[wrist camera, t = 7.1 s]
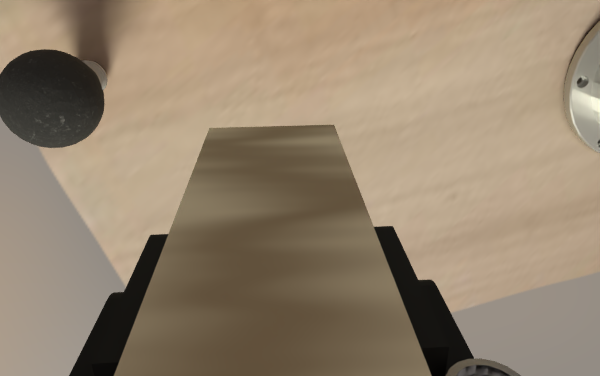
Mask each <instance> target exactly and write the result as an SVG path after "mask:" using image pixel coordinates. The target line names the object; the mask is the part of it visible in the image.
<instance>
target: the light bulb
mask: <svg viewBox="0 0 600 376" xmlns="http://www.w3.org/2000/svg"><path fill="white" fill-rule="evenodd" d="M106 85H107V75H106V72H105V70H104V69H103V68H102V67H101V66H100V65H99V64H98V63H96V62H93V61H90V60H89V61H88V60H82V61H81V60H79V59H78V58H76V57H74V56H72V55H70V54H67V53H65V52H61V51H57V50H35V51H30V52H27V53H24V54H21V55H20V56H18V57H17V58H15V59H14V60H12V61H11V62H10V63H9V64H8V65H7V66H6V67H5V68H4V70H3V71H2V73H1V74H0V116H1V118H2V120H3V122H4V123H5V124H6V125H7V127H8V128H9V129H10V130H11V131H12V132H13V133H14V134H16V135H17V136H18V137H20V138H21V139H23V140H25V141H27V142H29V143H31V144H34V145H37V146H40V147H48V148H58V147H66V146H70V145H73V144H76V143H78V142H80V141H82V140H83V139H85V138H87V137H88V136H89V135H90V134H91V133H92V132H93V131H94V130H95V128H96V127H97V126H98V124H99V122H100V120H101V118H102V115H103V111H104V93H103V90H104V89H105V87H106Z"/></svg>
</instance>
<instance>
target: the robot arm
mask: <svg viewBox="0 0 600 376" xmlns="http://www.w3.org/2000/svg"><path fill="white" fill-rule="evenodd" d="M563 100H564V107H565V114H566V117H567V120H568V122H569V125H570V127H571V129H572V130H573V132H574V133H575V135H576V136H577V137H578V138H579V139H580V140H581V141H582V142H583V143H584V144H585V145H586V146H588V147H590V148H591V149H593V150H595V151H597V152H598V153H600V21H599V22H598V23H597V24H596V25H595V26H594V27H593V28H592V30H591V31H590V32H589V33H588V34H587V35H586V37H585V38H584V40H583V41H582V43H581V44H580V46H579V48H578V49H577V51H576V53H575V55H574V57H573V59H572V62H571V64H570V66H569V69H568V73H567V76H566V80H565V85H564V98H563ZM374 229H375V232H376V234H377V237H378V239H379V242H380V245H381V247H382V250H383V252H384V255H385V257H386V260H387V262H388V265H389V268H390V270H391V273H392V275H393V278H394V280H395V283H396V286H397V288H398V291H399V293H400V296H401V298H402V301H403V304H404V306H405V309H406V311H407V314H408V316H409V319H410V322H411V324H412V327H413V329H414V332H415V334H416V337H417V340H418V342H419V345H420V347H421V350H422V352H423V355H424V357H425V360H426V363H427V365H428V368H429V370H430V373H431V375H432V376H520V375H519V374H518V373H516V372H515V371H513V370H512V369H510V368H509V367H507V366H505V365H502V364H500V363H497V362H495V361H490V360H486V359H474V357H473V355H472V353H471V352H470V350H469V348H468V346H467V344H466V342H465V340H464V338H463V336H462V334H461V332H460V330H459V328H458V327H457V325H456V323H455V321H454V319H453V317H452V315H451V313H450V311H449V309H448V307H447V305H446V303H445V301H444V299H443V297H442V296H441V294H440V292H439V290H438V288H437V286H436V284H435V283H434V281H432V280H418V279H417V277H416V275H415V272H414V270H413V268H412V266H411V264H410V262H409V260H408V257H407V255H406V253H405V251H404V249H403V247H402V245H401V243H400V240H399V238H398V236H397V234H396V232H395V230H394V228H393V226H384V227H374ZM167 237H168V234H161V235H150V237H149V239H148V241H147V243H146V245H145V248H144V250H143V252H142V254H141V256H140V258H139V261H138V263H137V265H136V267H135V269H134V272H133V274H132V276H131V278H130V280H129V282H128V285H127V287H126V289H125V291H124V292H118V293H112V294H111V295H110V296H109V298H108V299H107V301H106V303H105V305H104V308H103V309H102V311H101V313H100V315H99V318H98V319H97V321H96V323H95V325H94V327H93V329H92V331H91V333H90V335H89V337H88V339H87V341H86V343H85V345H84V347H83V349H82V351H81V353H80V355H79V357H78V359H77V361H76V363H75V365H74V367H73V369H72V371H71V373H70V375H69V376H114V374H115V371H116V369H117V366H118V364H119V361H120V358H121V356H122V353H123V351H124V348H125V346H126V343H127V340H128V338H129V335H130V333H131V330H132V327H133V325H134V322H135V320H136V317H137V314H138V312H139V309H140V307H141V304H142V302H143V299H144V296H145V294H146V291H147V289H148V286H149V283H150V281H151V278H152V276H153V273H154V271H155V268H156V265H157V263H158V260H159V258H160V255H161V252H162V250H163V247H164V245H165V242H166V240H167Z"/></svg>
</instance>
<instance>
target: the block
mask: <svg viewBox="0 0 600 376" xmlns="http://www.w3.org/2000/svg"><path fill="white" fill-rule="evenodd" d="M114 376H432V375H431V373H430V370H429V368H428V365H427V363H426V360H425V357H424V355H423V352H422V350H421V347H420V345H419V342H418V340H417V337H416V334H415V332H414V329H413V327H412V324H411V322H410V319H409V316H408V314H407V311H406V309H405V306H404V304H403V301H402V298H401V296H400V293H399V291H398V288H397V286H396V283H395V280H394V278H393V275H392V273H391V270H390V268H389V265H388V262H387V260H386V257H385V255H384V252H383V250H382V247H381V245H380V242H379V239H378V237H377V234H376V232H375V229H374V227H373V224H372V221H371V219H370V216H369V214H368V211H367V209H366V206H365V203H364V201H363V198H362V196H361V193H360V191H359V188H358V185H357V183H356V180H355V178H354V175H353V173H352V170H351V167H350V165H349V162H348V160H347V157H346V155H345V152H344V149H343V147H342V144H341V142H340V139H339V137H338V134H337V132H336V129H335V126H334V125H309V126H271V127H233V128H209V131H208V133H207V136H206V139H205V141H204V144H203V146H202V149H201V152H200V154H199V157H198V159H197V162H196V165H195V167H194V170H193V172H192V175H191V177H190V180H189V183H188V185H187V188H186V190H185V193H184V196H183V198H182V201H181V203H180V206H179V208H178V211H177V214H176V216H175V219H174V221H173V224H172V227H171V229H170V232H169V234H168V237H167V240H166V242H165V245H164V247H163V250H162V252H161V255H160V258H159V260H158V263H157V265H156V268H155V271H154V273H153V276H152V278H151V281H150V283H149V286H148V289H147V291H146V294H145V296H144V299H143V302H142V304H141V307H140V309H139V312H138V314H137V317H136V320H135V322H134V325H133V327H132V330H131V333H130V335H129V338H128V340H127V343H126V346H125V348H124V351H123V353H122V356H121V358H120V361H119V364H118V366H117V369H116V371H115V374H114Z"/></svg>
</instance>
